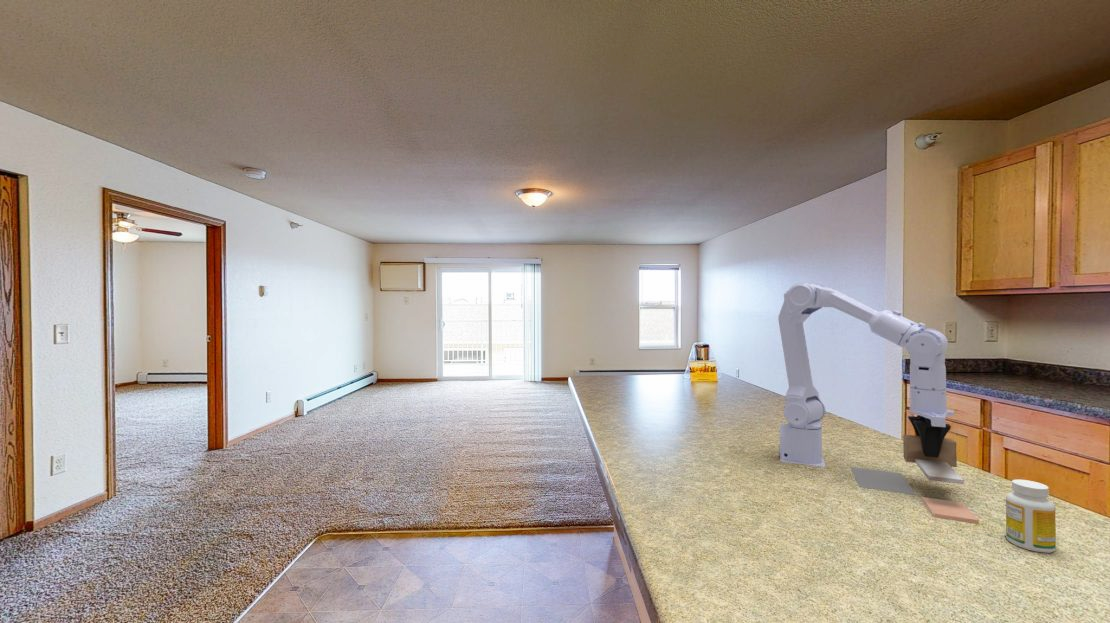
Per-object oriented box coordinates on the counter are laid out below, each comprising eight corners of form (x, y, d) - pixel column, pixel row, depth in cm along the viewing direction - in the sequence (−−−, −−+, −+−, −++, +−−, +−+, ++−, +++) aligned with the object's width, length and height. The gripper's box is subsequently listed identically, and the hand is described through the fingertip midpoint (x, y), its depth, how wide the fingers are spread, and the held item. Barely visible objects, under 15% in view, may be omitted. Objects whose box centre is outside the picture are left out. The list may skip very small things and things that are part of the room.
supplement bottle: (1004, 544, 71) (1002, 483, 71) (1008, 533, 74) (1007, 475, 74) (1055, 558, 67) (1053, 493, 67) (1057, 545, 70) (1056, 484, 70)
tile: (922, 505, 86) (933, 523, 79) (921, 497, 86) (933, 513, 79) (963, 511, 83) (979, 530, 76) (962, 502, 83) (978, 520, 76)
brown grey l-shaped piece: (918, 478, 84) (918, 452, 84) (903, 458, 95) (903, 434, 95) (974, 485, 80) (974, 458, 80) (952, 463, 91) (952, 438, 91)
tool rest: (858, 489, 93) (858, 486, 93) (850, 469, 105) (850, 466, 105) (916, 497, 89) (916, 494, 89) (901, 475, 101) (901, 473, 101)
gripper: (965, 395, 84) (967, 468, 84) (941, 384, 97) (943, 447, 96) (918, 392, 87) (919, 462, 87) (901, 382, 100) (902, 443, 100)
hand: (929, 454), depth 92 cm, fingers closed on brown grey l-shaped piece, 2 cm apart
